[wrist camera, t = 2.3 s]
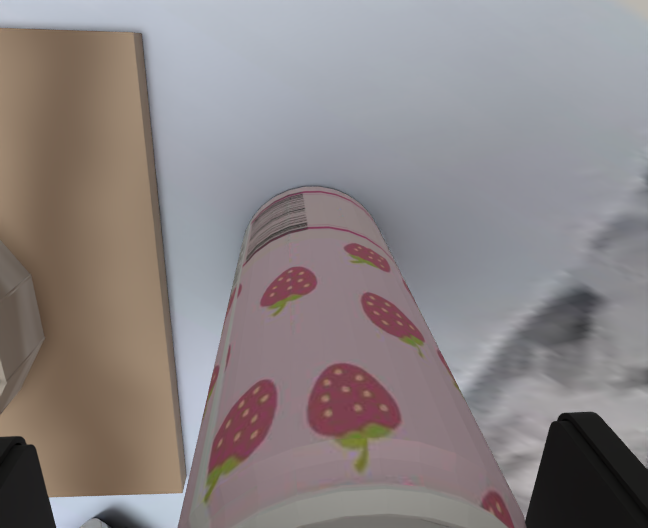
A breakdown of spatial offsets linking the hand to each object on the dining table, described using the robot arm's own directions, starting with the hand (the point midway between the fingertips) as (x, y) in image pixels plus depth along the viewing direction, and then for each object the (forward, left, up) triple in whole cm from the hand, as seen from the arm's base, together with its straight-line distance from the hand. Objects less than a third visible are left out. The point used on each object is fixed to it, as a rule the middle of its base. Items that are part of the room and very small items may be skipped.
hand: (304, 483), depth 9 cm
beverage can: (-1, 0, -13) cm, 13 cm away
